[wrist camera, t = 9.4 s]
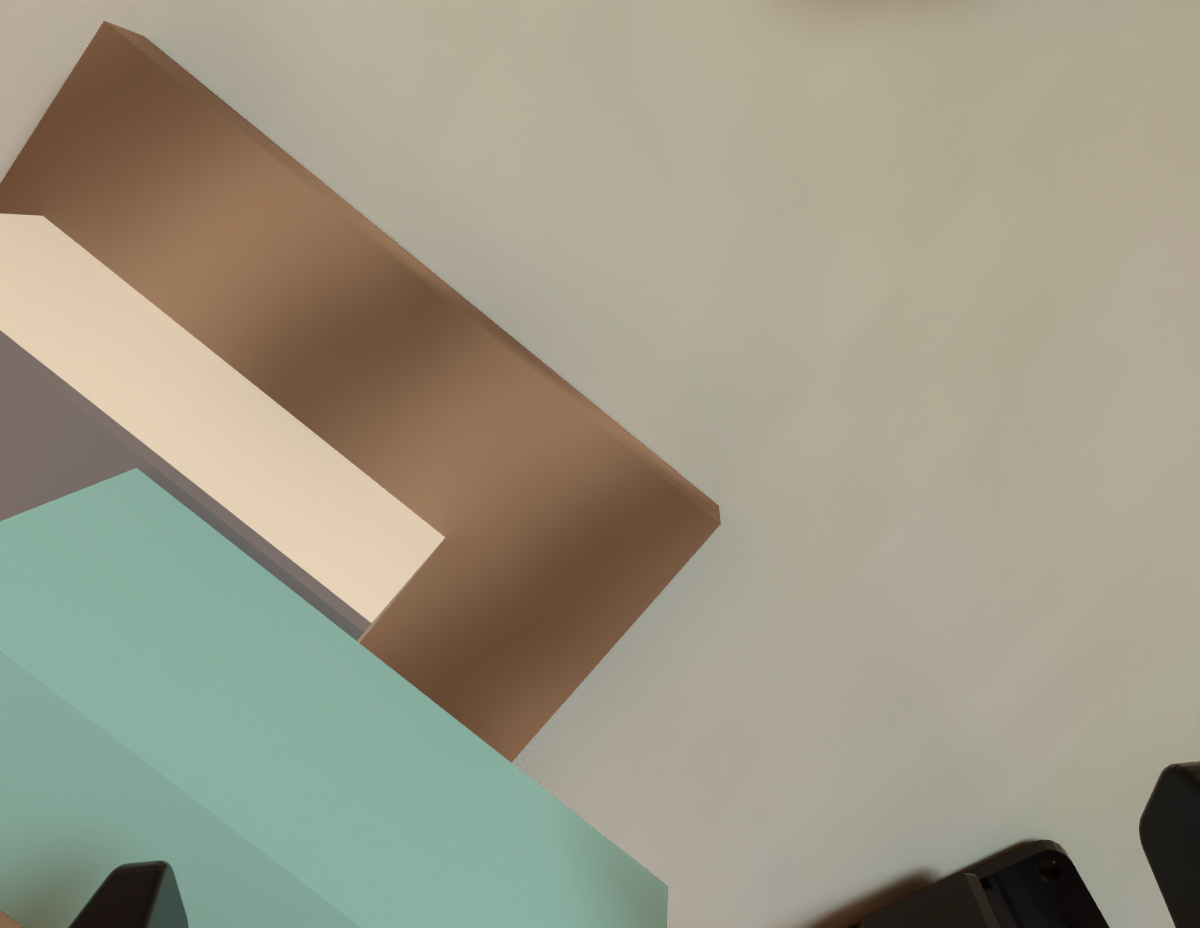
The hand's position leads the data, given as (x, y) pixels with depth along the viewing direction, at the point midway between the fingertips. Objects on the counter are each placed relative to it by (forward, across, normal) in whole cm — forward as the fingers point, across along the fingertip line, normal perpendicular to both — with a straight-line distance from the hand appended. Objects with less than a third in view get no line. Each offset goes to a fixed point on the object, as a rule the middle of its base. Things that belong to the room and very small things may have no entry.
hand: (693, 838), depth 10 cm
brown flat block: (+14, +5, +5) cm, 16 cm away
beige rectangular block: (+13, +7, +3) cm, 15 cm away
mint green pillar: (+6, +4, +4) cm, 8 cm away
